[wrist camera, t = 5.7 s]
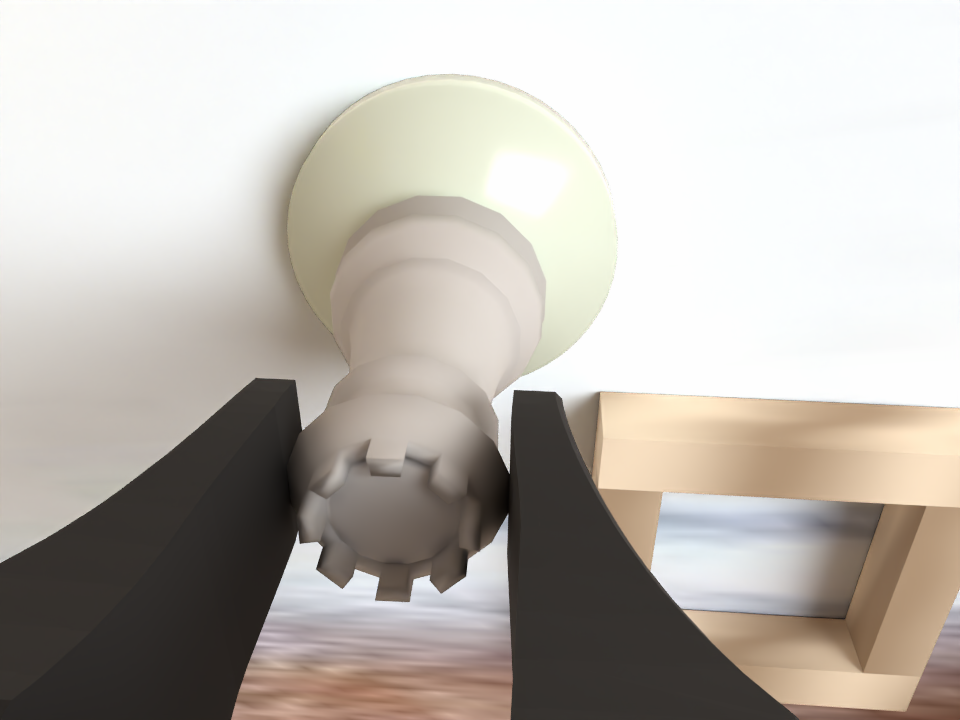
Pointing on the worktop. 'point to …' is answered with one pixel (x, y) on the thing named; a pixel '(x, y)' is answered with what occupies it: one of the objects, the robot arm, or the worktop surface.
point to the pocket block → (814, 476)
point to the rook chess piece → (418, 394)
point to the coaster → (462, 188)
